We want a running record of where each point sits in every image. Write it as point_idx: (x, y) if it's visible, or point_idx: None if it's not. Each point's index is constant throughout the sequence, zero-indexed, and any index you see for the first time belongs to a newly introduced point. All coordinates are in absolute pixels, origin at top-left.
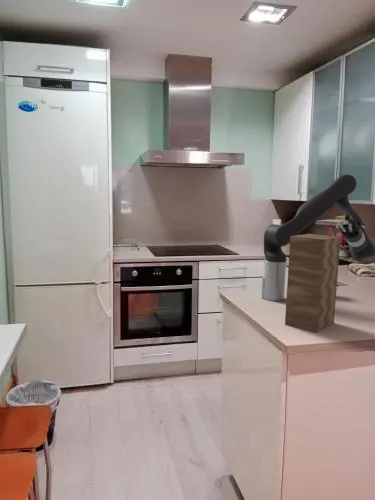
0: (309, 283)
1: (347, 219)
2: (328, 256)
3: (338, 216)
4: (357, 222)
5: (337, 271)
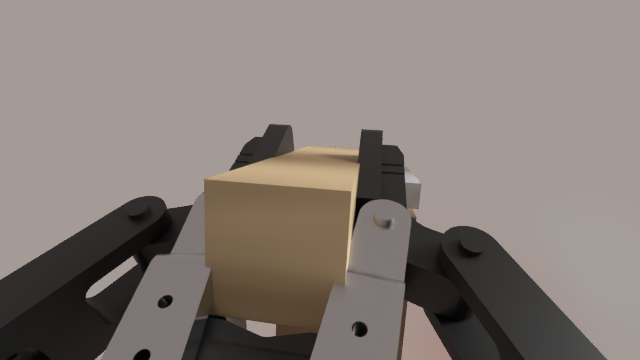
0: None
1: None
2: None
3: (343, 149)
4: (97, 273)
5: (277, 328)
